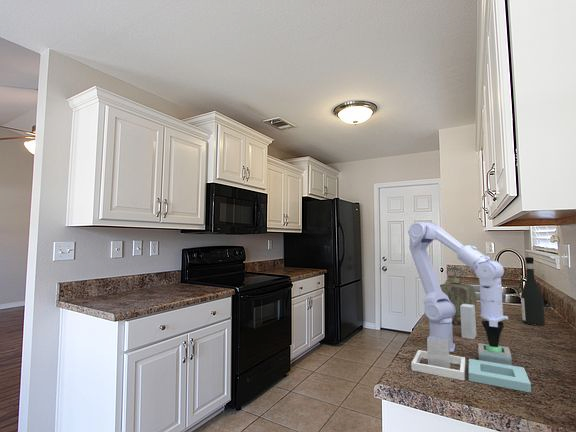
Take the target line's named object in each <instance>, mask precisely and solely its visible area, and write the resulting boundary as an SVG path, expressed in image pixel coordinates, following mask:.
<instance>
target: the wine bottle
mask: <svg viewBox="0 0 576 432" xmlns="http://www.w3.org/2000/svg"><path fill="white" fill-rule="evenodd" d="M525 266H526V268H525V269H526V279H525V283H524V285H523V288H522V289H521V293H520V295H521V296H520V302H521V303H520V305H521V318H522V322H523V323H524V324H526V323H527V324H526V325H529V324H536V325H541V326H543V325H542V324H544V325H545V324H546V321H545V319H546V318H545V307H544V306H545V305H544V303H545V302H544V297H543V293H542V291H541V289H540V288H539V285H538V283H537V282H536V279H535V269H534V268H535V267H534V257H532V256H531V257H530V256H526V257H525ZM536 325H535V326H536Z"/></svg>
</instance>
